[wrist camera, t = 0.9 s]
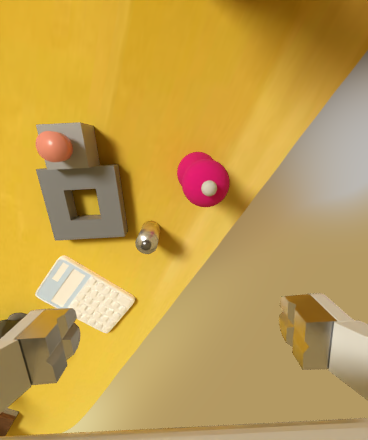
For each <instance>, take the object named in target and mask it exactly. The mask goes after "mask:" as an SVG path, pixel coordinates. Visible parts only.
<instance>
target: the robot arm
mask: <svg viewBox="0 0 368 440" xmlns="http://www.w3.org/2000/svg"><path fill="white" fill-rule="evenodd" d="M280 307H281V308H282V310H283V312H282V313H281V314H280V315H279V325H280V331H281V333H282V336H283V338H284V340H285V341H286V343H288V344H289V345H291V346H292V347H293V348H292V349H293V350H292V353H293V355H294V357H295V358H296V360H297V361H298V363H299V365H300V366H301V368H302V370H309V369H310V370H311V369H329V371H330V372H331V373H332V374H334V375H335V376H336V377H338V378H339V379H340V380H342V381H343V382H344V383H345V384H347V385H348V386H349V387H351V388H352V389H353V390H355V391H356V392H357V393H358V394H360V395H361V396H362V397H364V398H365V399H366V400H368V324H366V323H364V322H362V321H358V320H356V321H354V320H353V319H352V318H351V317H350V316H349V315H347V314H346V313H345V312H344V311H343V310H342V309H341V308H339V307H338V306H337V305H336V304H335V303H334V302H332V301H331V300H330V299H329V298H328V297H327V296H326V295H324V294H322V293H315V294H314V293H313V294H306V295H293V296H281V298H280ZM76 318H77V315H76V312H75V310H74V309H73V308H62V309H39V310H33V311H31V312H29V313H28V314H27V315H26V316H25V317H24V318H23V319H22V320H21V321H20V322H18V323H17V324H16V325H15V326H14V327H13V328H12V329H11V330H10V331H9V332H7V333H6V334H5V335H4V336H3V337H2V338H1V339H0V413H1V412H3V411H4V410H5V409H6V408H7V407H8V406H10V405H11V404H12V403H13V402H14V401H15V400H16V399H18V398H19V397H20V396H21V395H22V394H23V393H24V392H26V391H27V390H28V389H29V388H30V387H31V385H38V384H49V383H57V381H58V380H59V378H60V376H61V375H62V373H63V372H64V370H65V368H66V367H67V359H68V358H70V357H71V356H72V355H74V353H75V351H76V350H77V348H78V345H79V341H80V330H79V327H78V326H77V325H76V324H75V323H74V322H75V320H76ZM0 440H368V418H358V419H338V420H319V421H299V422H278V423H258V424H238V425H220V426H219V425H218V426H198V427H179V428H159V429H140V430H120V431H101V432H100V431H99V432H80V433H60V434H40V435H20V436H0Z"/></svg>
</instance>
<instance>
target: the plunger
mask: <svg viewBox="0 0 368 440" xmlns="http://www.w3.org/2000/svg"><path fill="white" fill-rule="evenodd" d="M36 148H37V151H38V153H39V154H40V156H41V157H42V158H44V159H45V160H47V161H49V162H62V161H66V160H68V159H69V158H70V157H71V155H72V153H73V146H72V143H71V141H70V139H69V138H68V137H67V136H66V135H64V134H62V133H60V132H54V131H44V132H42V133H40V134H39V135H38V137H37V139H36Z"/></svg>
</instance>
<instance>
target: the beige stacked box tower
mask: <svg viewBox="0 0 368 440" xmlns="http://www.w3.org/2000/svg"><path fill="white" fill-rule="evenodd" d="M18 413H19V412H18V411H15V410H12V409H8V408H6V409H5V410H4V411H3V412H1V413H0V436H5V435H6V434H7V432H8V430H9V428H10V427H11V425H12V423H13V421H14V420H15V418H16V416H17V415H18Z"/></svg>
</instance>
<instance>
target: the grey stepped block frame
mask: <svg viewBox="0 0 368 440" xmlns="http://www.w3.org/2000/svg"><path fill="white" fill-rule="evenodd" d="M36 127H37V131H38V135H39V134H40V133H42V132H44V131H54V132H60V133H62V134H64V135H66V136H67V137H68V138H69V139H70V141H71V143H72V146H73V153H72V155H71V157H70V158H69V159H68V160H66V161H62V162H49V161H47V160H45V162H46V166H47V168H43V169H36V171H37V175H38V179H39V182H40V186H41V190H42V193H43V197H44V201H45V204H46V208H47V212H48V216H49V219H50V223H51V227H52V230H53V234H54V238H55V240H72V239H90V238H108V237H125V235H126V234H127V232H128V228H127V221H126V214H125V207H124V200H123V193H122V186H121V179H120V173H119V166H118V164H114V165H100V161H99V155H98V149H97V144H96V138H95V132H94V126H92V125H88V124H84V123H62V124H42V125H36ZM79 189H96V192H97V198H98V203H99V209H100V214H101V215H86V216H77V211H76V207H75V202H74V198H73V193H72V190H79Z"/></svg>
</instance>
